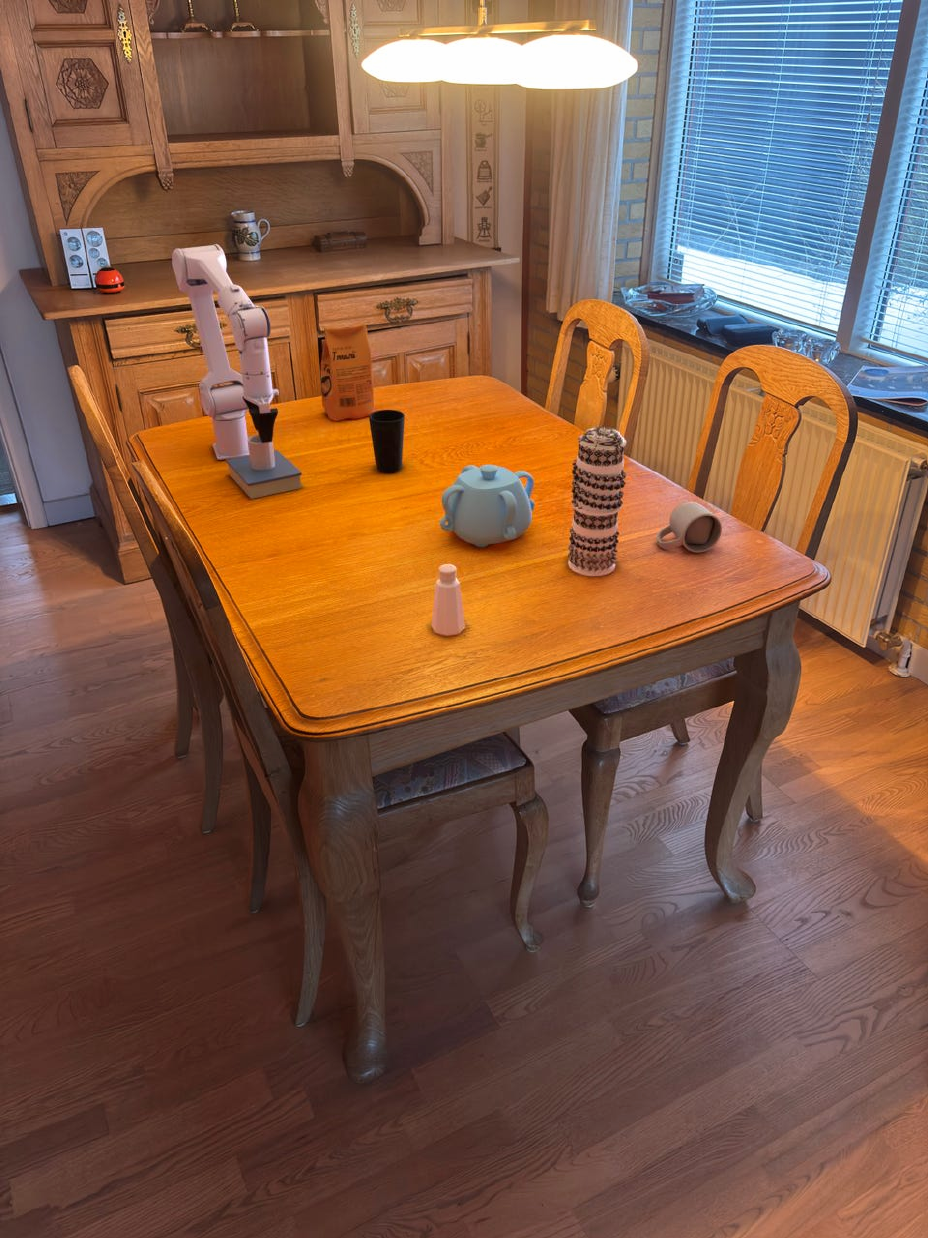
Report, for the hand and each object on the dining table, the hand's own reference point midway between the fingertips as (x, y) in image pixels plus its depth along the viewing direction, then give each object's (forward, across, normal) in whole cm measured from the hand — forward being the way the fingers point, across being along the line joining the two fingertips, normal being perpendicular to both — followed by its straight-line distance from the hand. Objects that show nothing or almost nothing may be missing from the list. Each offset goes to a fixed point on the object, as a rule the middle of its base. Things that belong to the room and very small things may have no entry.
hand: (263, 435), depth 193 cm
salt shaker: (+10, -68, -17) cm, 71 cm away
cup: (+10, -2, -26) cm, 28 cm away
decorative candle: (+10, -57, -48) cm, 75 cm away
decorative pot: (+10, -39, -35) cm, 53 cm away
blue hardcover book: (+10, 0, +1) cm, 10 cm away
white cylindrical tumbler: (+7, 0, +1) cm, 7 cm away
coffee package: (+10, +35, -26) cm, 45 cm away
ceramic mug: (+10, -56, -68) cm, 89 cm away
